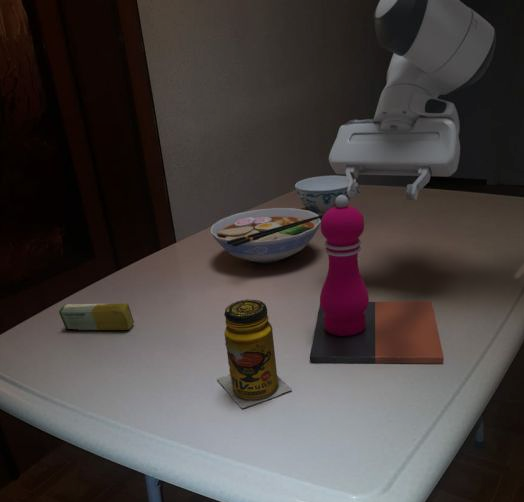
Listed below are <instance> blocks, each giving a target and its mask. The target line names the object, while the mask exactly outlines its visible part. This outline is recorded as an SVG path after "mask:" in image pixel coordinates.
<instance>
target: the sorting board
mask: <svg viewBox="0 0 524 502" xmlns="http://www.w3.org/2000/svg"><path fill="white" fill-rule="evenodd" d="M363 313H364V314H365V316H366V326H365V329H364V330H363V331H362V332H360V333H358V334H355V335H350V336H338V335H333V334H330V333H329V332H327V331H326V330H325V328H324V316H325V314H326V313H325V312H324V311H323V310H322V309H321V306H320V305H319V307H318V312H317V315H316V316H317V317H316V321H315V328H314V332H313V337H312V343H311V348H310V354H309V363H311V364H312V363H313V364H316V363H317V364H329V363H330V364H444V357H445V356H444V352H443V348H442V344H441V339H440V333H439V330H438V329H439V328H438V324H437V320H436V316H435V310H434V306H433V301H432V300H412V301H411V300H410V301H409V300H406V301H405V300H403V301H402V300H401V301H400V300H399V301H395V300H394V301H369V304H368V307H367V308H366V310H365V311H364V312H363Z"/></svg>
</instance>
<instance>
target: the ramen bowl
mask: <svg viewBox="0 0 524 502" xmlns="http://www.w3.org/2000/svg"><path fill="white" fill-rule="evenodd" d="M322 217H323V215H320V216H319V215H317V214H315V213H313V211H311V210H307V209H301V208H300V209H299V208H295V207H271V208H270V207H269V208H261V209H253V210H248V211H243V212H238V213H234V214H232V215H229V216H226V217H224V218H221V219H219V220H217V221H216V222H215V223H213V224H212V225H211V227H210V234H211V235H212V237H213V239H214V240H215V241H216V242H217V243H218V244H219V246H220V247H222V249H224V250H225V251H226V252H227V253H229V254H230V255H231V256H233V257H235V258H238V259H240V260H244V261H249V262H253V263H257V264H273V263H277V262H280V261H283V260H284V259H286V258H288V257H291V256H293V255H296V254H297V253H299V252H300V251H302V250H303V249H304V248H305V247H306V246H307V245H308V244H309V243H310V242H311V241H312V239H313V238H314V237H315V235H316V233H317V231H318V230H319V227H320V226H321V220H322Z"/></svg>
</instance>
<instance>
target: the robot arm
mask: <svg viewBox="0 0 524 502" xmlns="http://www.w3.org/2000/svg"><path fill="white" fill-rule="evenodd" d="M373 23H374V31H375V35H376V39H377V42H378V44H379V46H380V47H382V48H384V49H386V50H387V51H389V52H391V53H393V54H392V56H391V58H390V62H389V65H388V68H387V73H386V85H385V86H384V88H383V89H382V91H381V93H380V95H379V98H378V99H379V100H378V102H377V107H376V110H375V113H374V116H373V118H365V119H349V121H348V122H345V123H344V124H342V125H340V127H339V129H338V132H337V134H336V138H335V140H334V142H333V145H332V147H331V150H330V152H329V155H328V162H329V165H330V168H332V170H333V171H334V172H335V173H334V174H337V175H345V176H347V179H348V182H349V185H348V188H347V194H348V196H349V197H351V198H359V195H360V193H361V190H362V189H361V186H360V184H359V182H356V183H355V182H354V179H355V180H358V178H359V175H361V176H362V175H365V176H406V177H407V176H408V177H409V176H411V177H414V176H415V177H417V179H416V180H415V181H413V183H408V184H407V185H406V190H405V192H404V197H405V199H406V200H408V201H409V200H410V201H417V199H418V197H419V194H420V193H419V192H420V191H422V190H423V188H424V187H425V186H426V185H428V183H429V182H430V180H431V177H451V176H452V175H453V174H455V173H456V171H457V170H458V166H459V162H460V157H461V156H460V155H461V142H460V136H459V135H460V130H461V129H460V128H461V127H460V126H461V125H460V118H459V113H458V111H457V108H456V105H455V104H454V102H452V101H448V100H444V99H440V98H439V96H448V95H451V94H453V93H455V92H458V91H462V90H464V89H466V88H468V87H471V86H472V85H474V84H475V83H477V82H478V81H479V80H480V79H482V77H483V76H484V74H485V73H486V71H487V70H488V68H489V66H490V64H491V62H492V60H493V56H494V52H495V48H496V42H497V35H496V29H495V27H494V26H493V25H491V23H490V22H488V21H487V19H485V18H484V17H482V16H481V15H480V14H479V13H478V12H476V11H475V10H473V9H472V8H471V7H469V6H467V5H466V4H464V3H463V2H462V1H461V0H379V2H378V4H377V6H376V7H375V10H374V13H373Z"/></svg>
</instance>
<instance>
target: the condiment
mask: <svg viewBox="0 0 524 502" xmlns="http://www.w3.org/2000/svg"><path fill="white" fill-rule="evenodd" d="M224 318H225V326H226V327H225V329H224V340H225V343H224V345H225V348H226V354H227V364H228V367H229V374H227V375H226V376H225V375H224V376H221V377H218V378H216V380H217V381H218V382H219V384H220V385H221V386H222V387H223V388H224V389H225V390H226V392H227V393H228V394H229V396H230V397H231V398H232V399H233V400H234V401H235V402H236V403H237V405H238V406H239V407H240V408H241V409H244V408H247V407H250V406H254V405H257V404H259V403H263V402H265V401H267V400H271V399H273V398H275V397H278V396H281V395H282V394H285V393H288V392H290V391H293V389H292V387H290V386H289V385H288V384H287V383H286V382H285V381H284V380H283V379H282V378H281V377H279V375H278V371H277V361H276V351H275V343H274V333H273V327H272V324H271V322H270V320H269V314H268V307H267V305H266V303H265V302H263V301H262V300H259V299H242V300H238V301H235V302H233V303H230V304H229V305H227V307H226V308H225V310H224Z"/></svg>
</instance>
